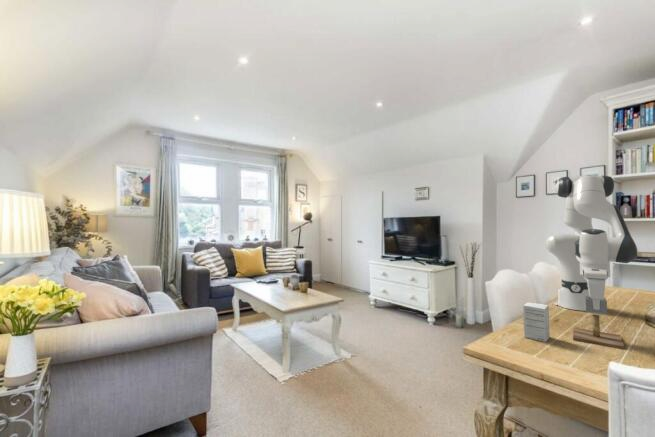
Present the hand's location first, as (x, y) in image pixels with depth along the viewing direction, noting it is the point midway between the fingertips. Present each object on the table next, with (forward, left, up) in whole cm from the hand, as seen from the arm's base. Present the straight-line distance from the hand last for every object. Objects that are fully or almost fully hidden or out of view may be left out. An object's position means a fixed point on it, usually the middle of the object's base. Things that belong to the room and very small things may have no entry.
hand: (595, 307), depth 116 cm
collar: (0, 0, -2) cm, 2 cm away
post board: (0, 0, -12) cm, 12 cm away
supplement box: (+12, -18, -13) cm, 25 cm away
